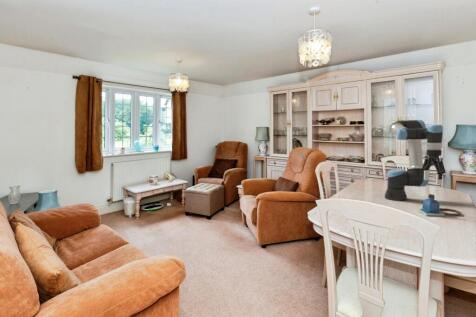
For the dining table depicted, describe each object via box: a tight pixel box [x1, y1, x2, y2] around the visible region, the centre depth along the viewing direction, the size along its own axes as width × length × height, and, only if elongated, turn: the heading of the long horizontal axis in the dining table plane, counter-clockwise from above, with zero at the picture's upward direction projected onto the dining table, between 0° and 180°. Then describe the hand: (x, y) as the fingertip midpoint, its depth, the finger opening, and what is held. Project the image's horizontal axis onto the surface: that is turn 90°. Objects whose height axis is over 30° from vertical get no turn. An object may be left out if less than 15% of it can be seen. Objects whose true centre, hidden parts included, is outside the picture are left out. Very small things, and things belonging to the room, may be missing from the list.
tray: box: [417, 208, 446, 217], centre depth 160 cm, size 10×10×2 cm
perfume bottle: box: [421, 193, 441, 214], centre depth 159 cm, size 6×6×12 cm
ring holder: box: [439, 207, 462, 217], centre depth 159 cm, size 12×12×1 cm
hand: (432, 182), depth 158 cm, fingers open, 13 cm apart
